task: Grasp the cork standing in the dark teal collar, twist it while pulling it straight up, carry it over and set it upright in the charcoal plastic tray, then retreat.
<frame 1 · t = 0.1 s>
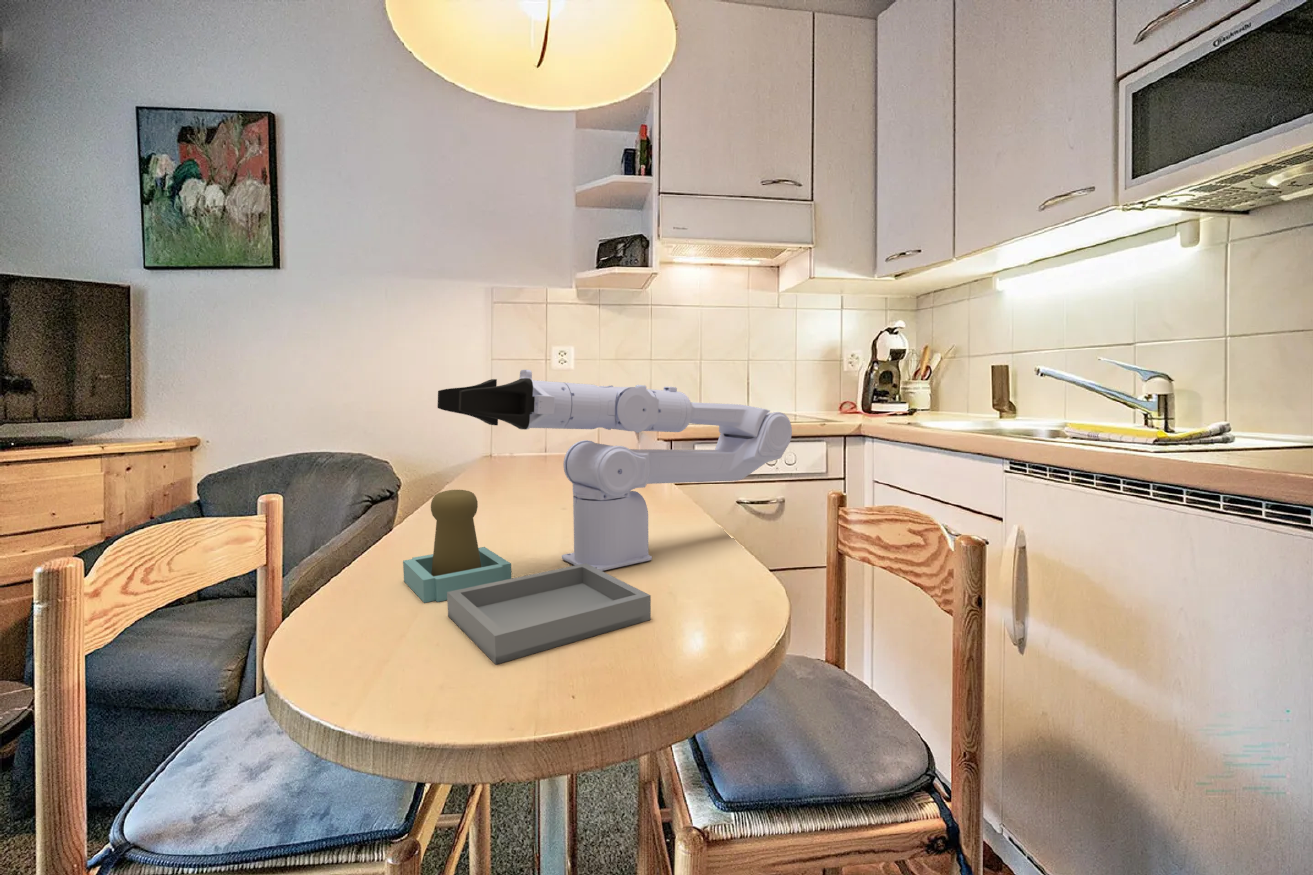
hand: (448, 400, 66), 22 cm above the table, tool horizontal, fingers open, 7 cm apart
charcoal tray: (548, 617, 60), on the table
cork: (457, 584, 71), resting in teal collar
teal collar: (457, 582, 71), on the table
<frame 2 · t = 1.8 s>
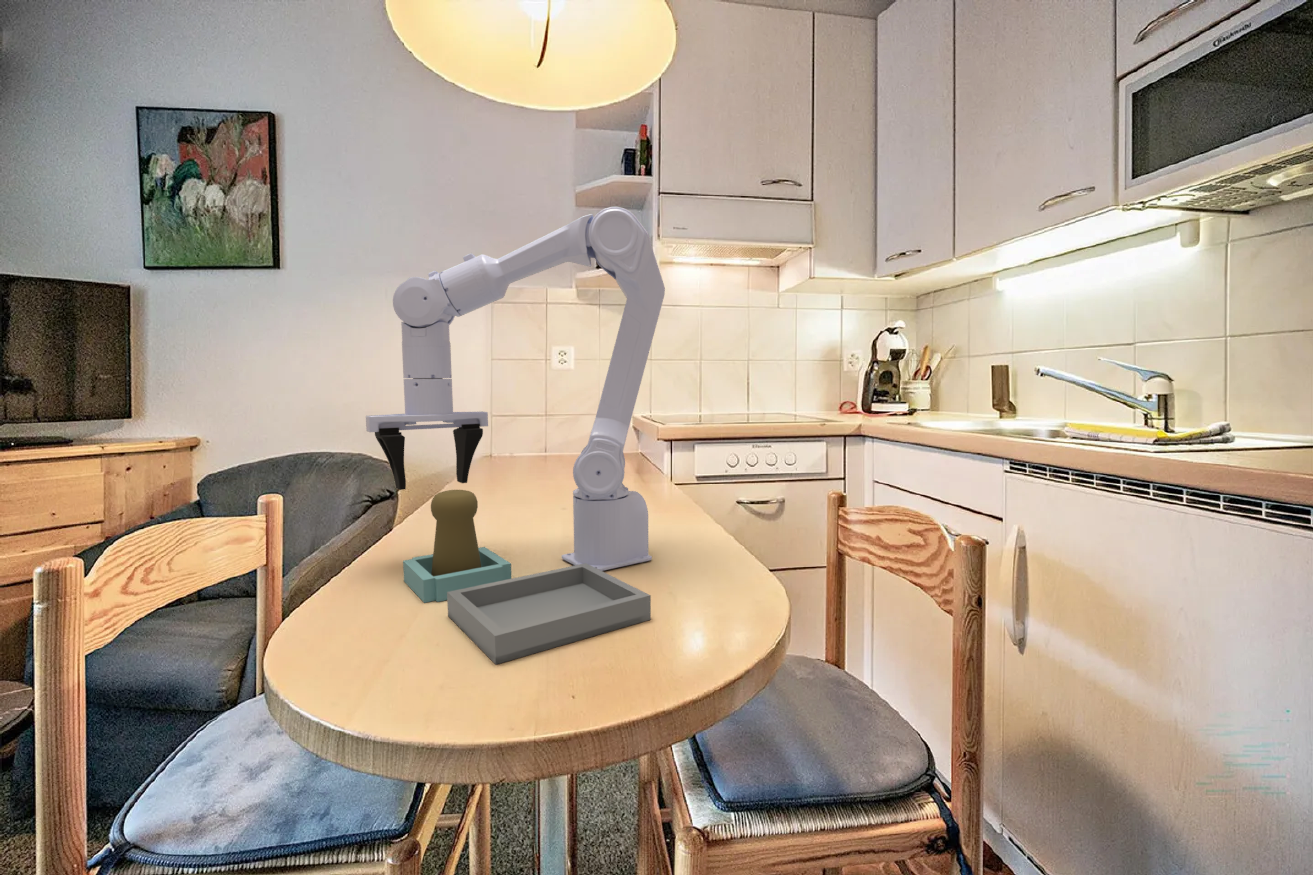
hand: (432, 485, 77), 10 cm above the table, tool pointing down, fingers open, 7 cm apart
nothing on the table moved.
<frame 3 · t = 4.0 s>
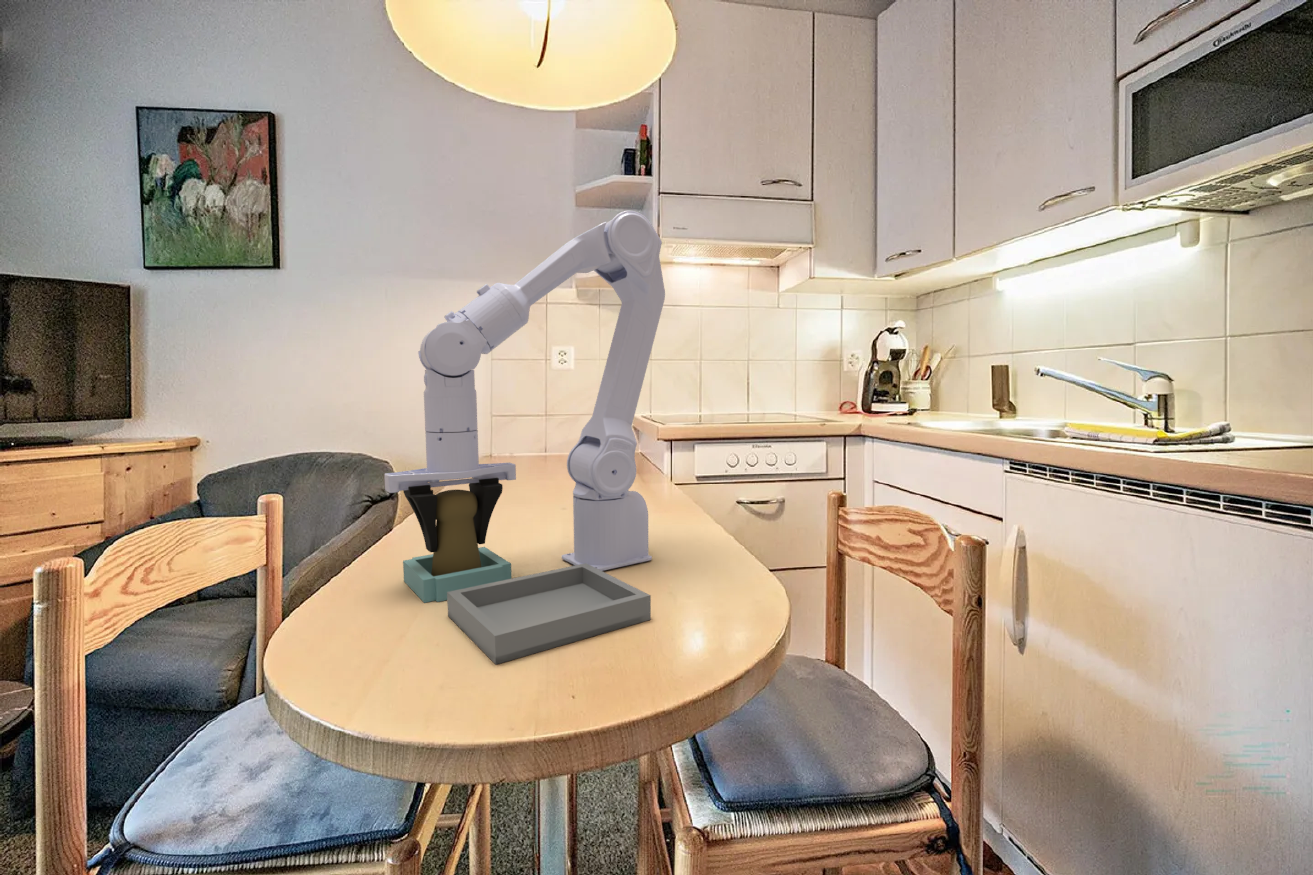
hand: (456, 546, 71), 4 cm above the table, tool pointing down, fingers closed on cork, 5 cm apart
cork: (457, 584, 71), resting in teal collar, touching gripper
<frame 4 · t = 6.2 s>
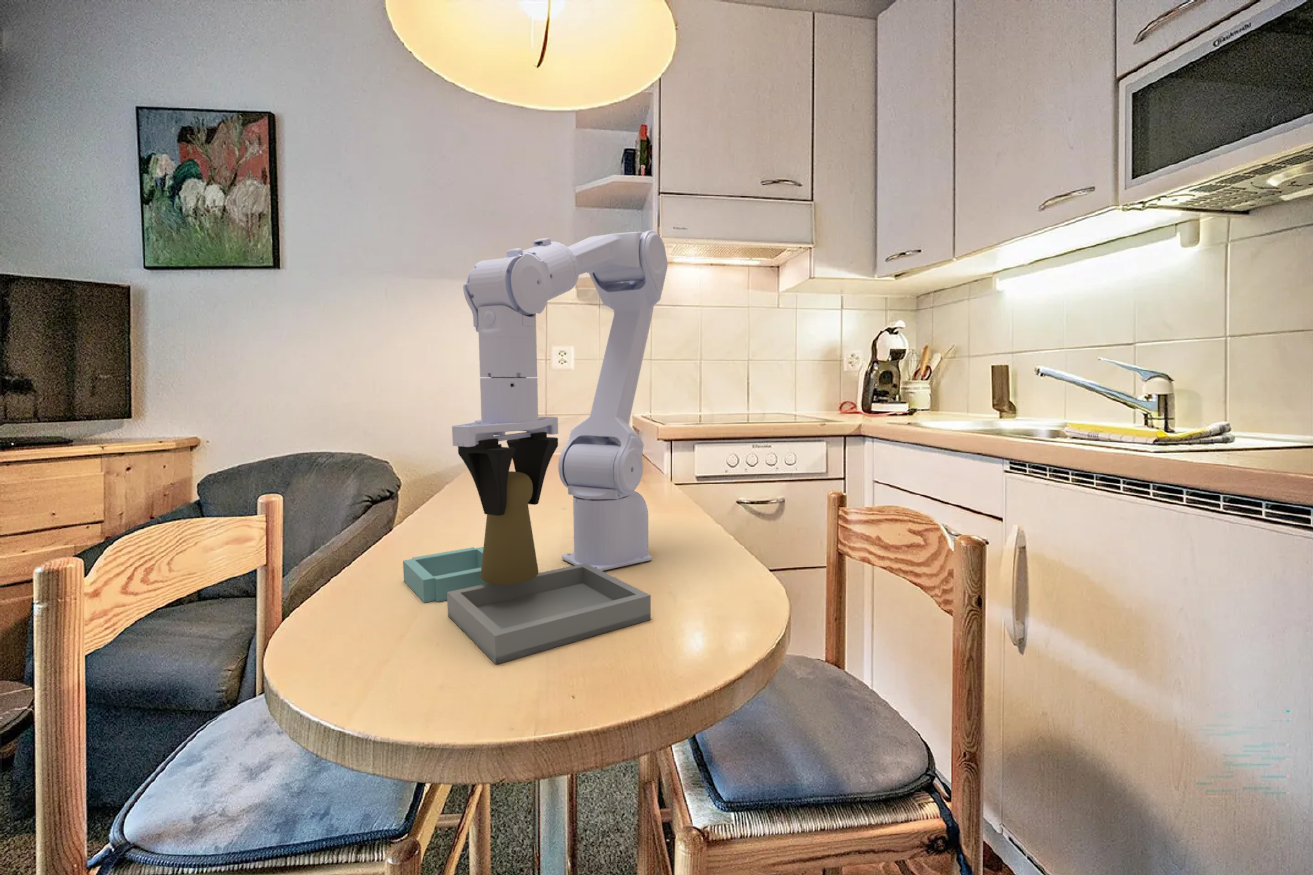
hand: (512, 508, 63), 10 cm above the table, tool pointing down, fingers closed on cork, 5 cm apart
cork: (509, 575, 64), point 3 cm above the table, touching gripper
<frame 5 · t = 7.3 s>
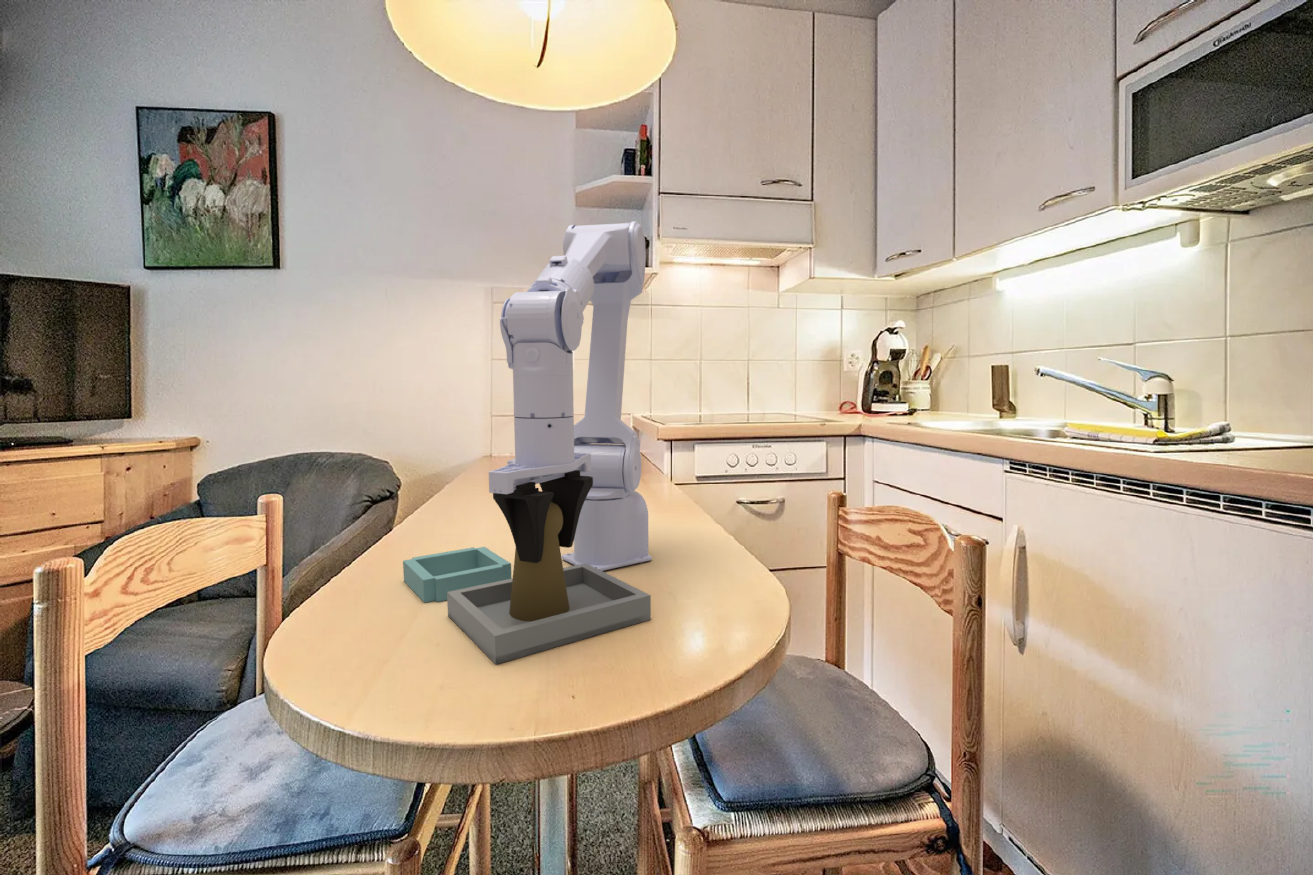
hand: (547, 553, 60), 7 cm above the table, tool pointing down, fingers closed on cork, 5 cm apart
cork: (539, 611, 61), resting on charcoal tray, touching gripper
when the fingers open (6 cm above the table, at t = 7.9 s): cork stays where it is, resting on charcoal tray.
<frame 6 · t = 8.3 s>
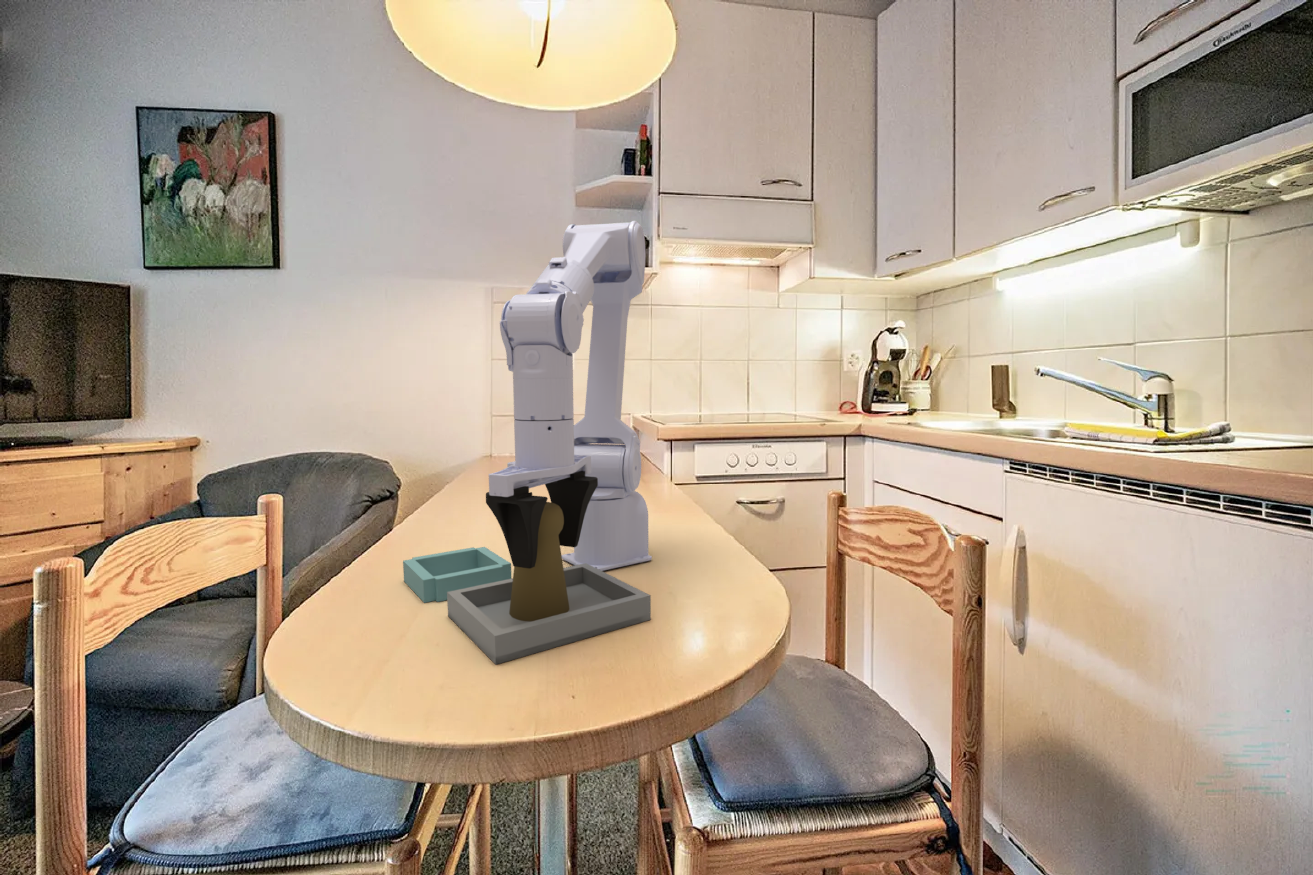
hand: (547, 555, 60), 6 cm above the table, tool pointing down, fingers open, 7 cm apart
cork: (539, 611, 61), resting on charcoal tray
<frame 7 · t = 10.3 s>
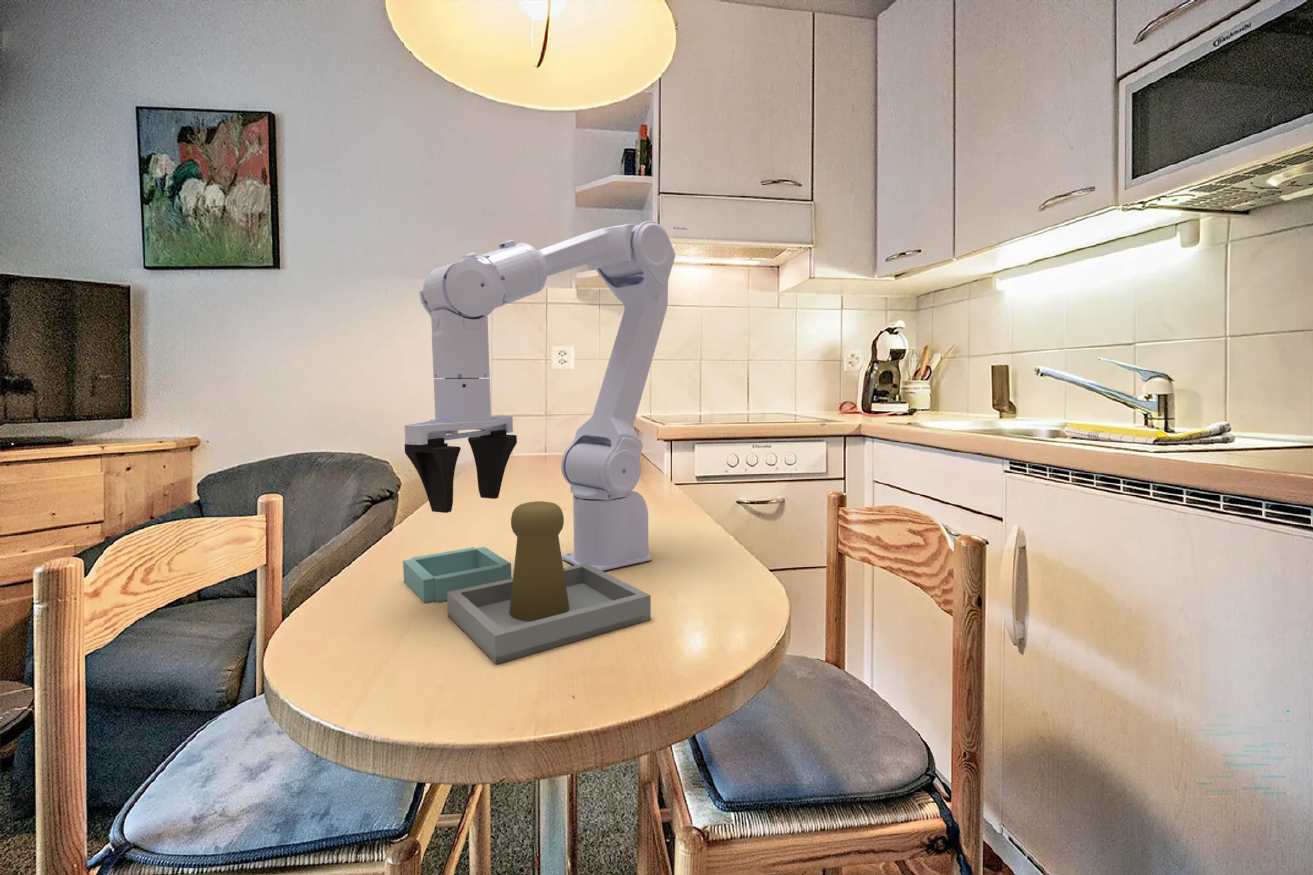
hand: (466, 504, 65), 10 cm above the table, tool pointing down, fingers open, 7 cm apart
nothing on the table moved.
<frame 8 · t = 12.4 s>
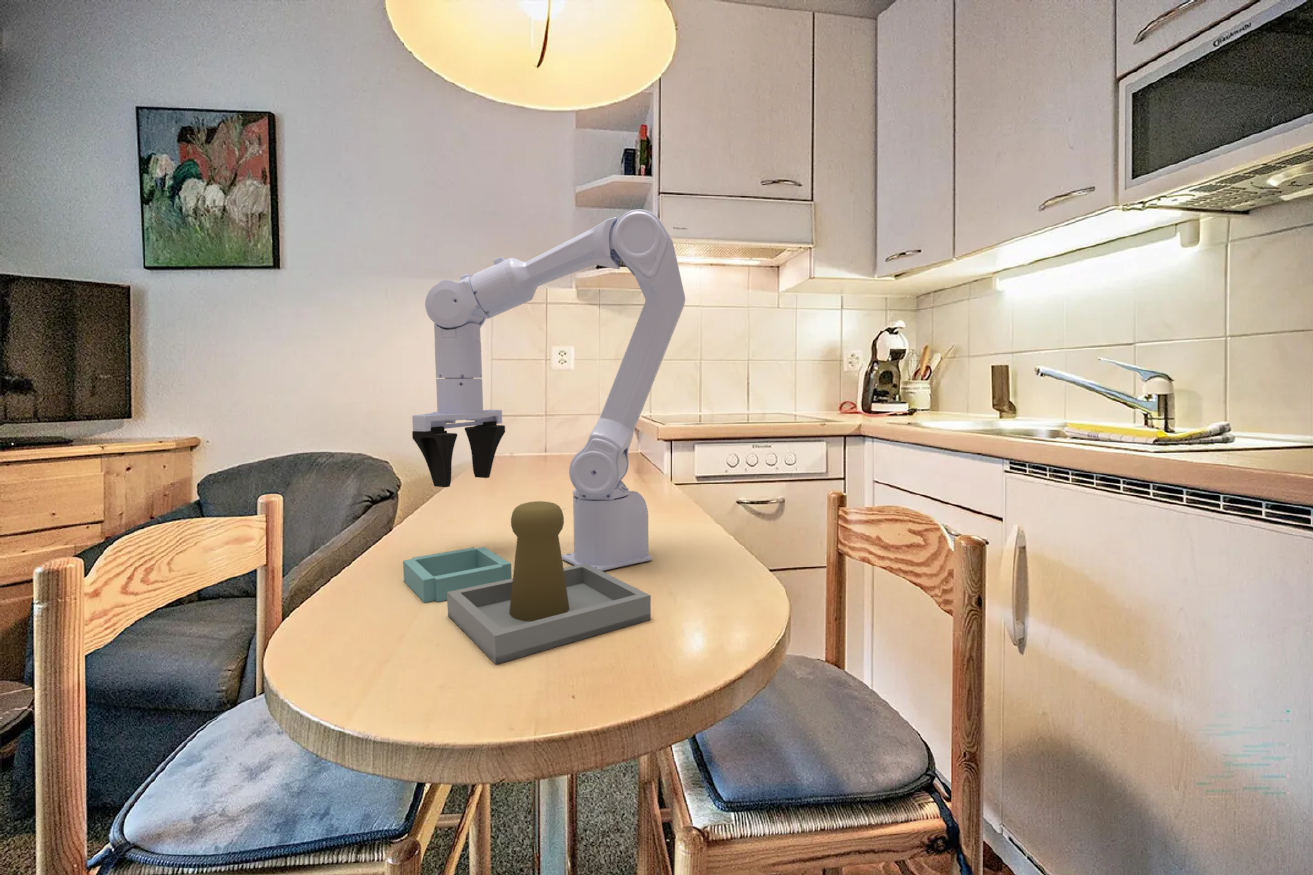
hand: (462, 481, 80), 10 cm above the table, tool pointing down, fingers open, 7 cm apart
nothing on the table moved.
at the end: cork inside the target area on the charcoal tray (1.1 cm from its centre), point 0.4 cm above the charcoal tray's base; cork tilted 0°; the gripper is holding nothing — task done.
